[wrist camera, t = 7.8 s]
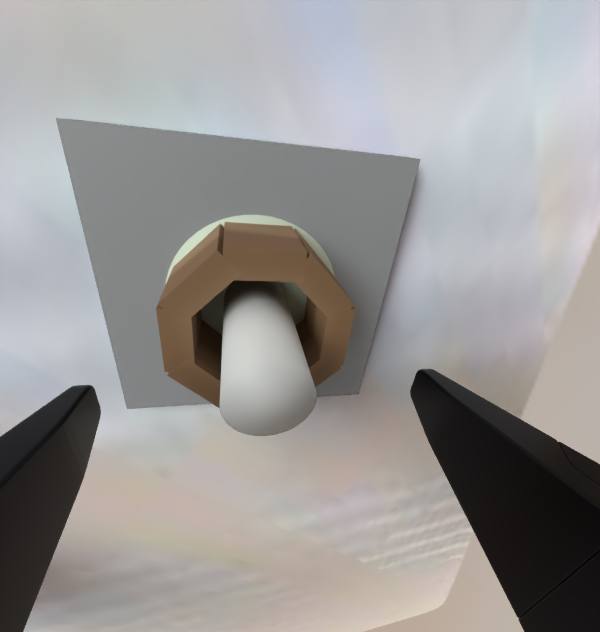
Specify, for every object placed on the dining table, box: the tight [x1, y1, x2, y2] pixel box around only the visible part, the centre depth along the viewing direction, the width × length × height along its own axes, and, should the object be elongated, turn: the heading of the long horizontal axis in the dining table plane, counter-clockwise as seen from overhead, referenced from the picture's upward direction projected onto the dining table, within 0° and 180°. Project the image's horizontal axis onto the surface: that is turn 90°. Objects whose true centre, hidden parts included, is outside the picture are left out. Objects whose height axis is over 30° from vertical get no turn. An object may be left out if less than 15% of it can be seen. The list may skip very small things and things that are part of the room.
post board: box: [56, 118, 420, 436], centre depth 11 cm, size 12×12×7 cm
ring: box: [156, 222, 356, 408], centre depth 12 cm, size 6×6×3 cm
